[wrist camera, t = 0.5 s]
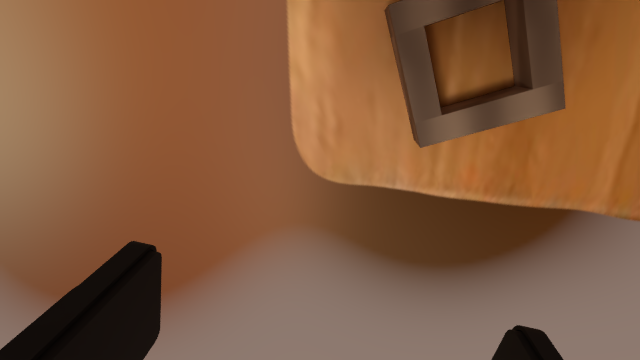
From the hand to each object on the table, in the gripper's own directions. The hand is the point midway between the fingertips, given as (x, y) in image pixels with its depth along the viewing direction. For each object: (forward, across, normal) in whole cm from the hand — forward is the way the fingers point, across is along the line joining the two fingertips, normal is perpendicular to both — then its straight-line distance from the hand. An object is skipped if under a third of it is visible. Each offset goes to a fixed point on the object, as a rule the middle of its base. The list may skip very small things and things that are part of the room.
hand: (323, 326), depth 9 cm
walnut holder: (+29, -10, -8) cm, 32 cm away
